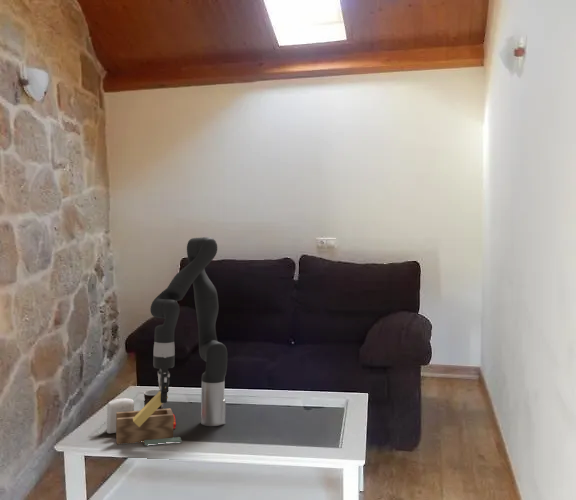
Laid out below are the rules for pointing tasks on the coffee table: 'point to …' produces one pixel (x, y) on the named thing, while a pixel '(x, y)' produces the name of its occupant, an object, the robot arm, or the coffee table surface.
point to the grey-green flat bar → (162, 440)
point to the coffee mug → (151, 396)
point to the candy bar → (174, 422)
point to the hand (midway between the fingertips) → (163, 400)
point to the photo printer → (117, 406)
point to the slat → (148, 409)
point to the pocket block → (144, 426)
